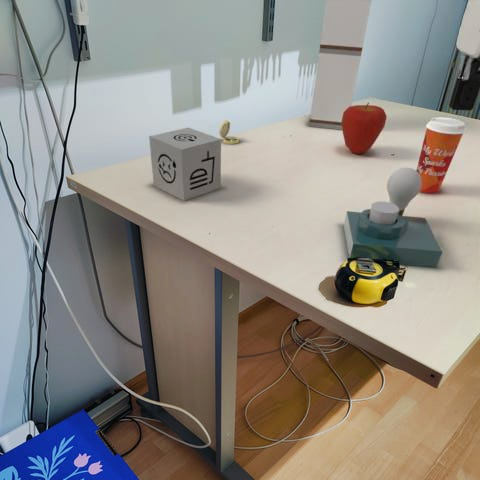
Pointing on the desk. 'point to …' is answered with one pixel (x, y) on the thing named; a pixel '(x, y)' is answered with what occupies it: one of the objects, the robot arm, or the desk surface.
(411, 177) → the light bulb
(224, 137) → the eyeshadow
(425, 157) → the paper cup
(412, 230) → the teal button base
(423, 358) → the desk surface
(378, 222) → the grey push button
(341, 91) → the tall brown-striped box
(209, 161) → the icon cube
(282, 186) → the desk surface
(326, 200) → the desk surface
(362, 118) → the apple
